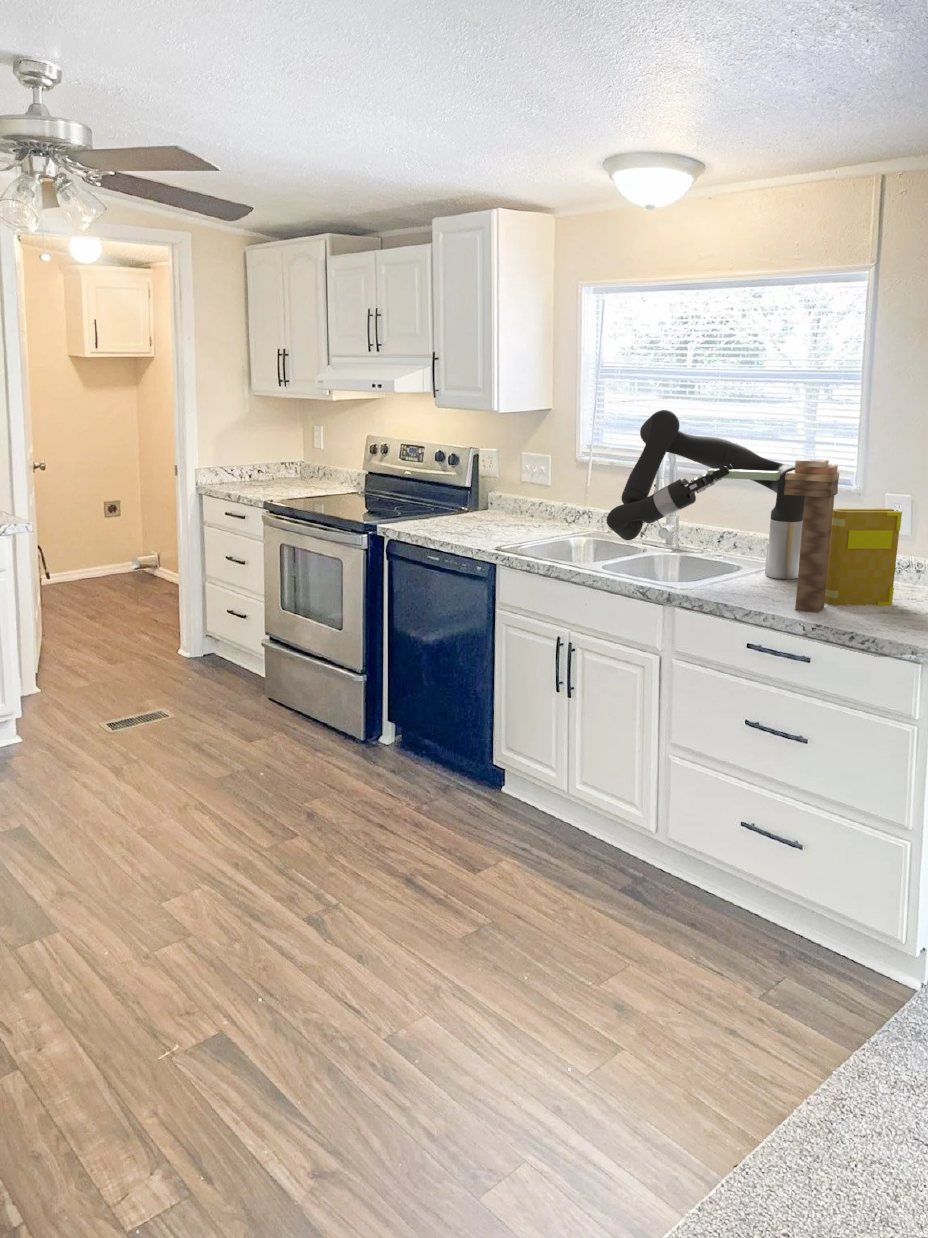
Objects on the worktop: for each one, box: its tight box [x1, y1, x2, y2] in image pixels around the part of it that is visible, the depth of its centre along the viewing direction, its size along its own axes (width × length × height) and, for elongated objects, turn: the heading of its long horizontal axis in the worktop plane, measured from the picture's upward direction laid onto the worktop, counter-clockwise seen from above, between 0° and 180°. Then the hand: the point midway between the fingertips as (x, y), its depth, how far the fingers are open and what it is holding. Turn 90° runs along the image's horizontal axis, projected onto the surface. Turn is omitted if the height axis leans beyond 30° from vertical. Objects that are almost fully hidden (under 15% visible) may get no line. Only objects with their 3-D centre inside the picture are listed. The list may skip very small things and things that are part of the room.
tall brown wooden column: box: [784, 458, 840, 614], centre depth 270 cm, size 12×9×39 cm
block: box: [706, 468, 780, 481], centre depth 274 cm, size 18×4×2 cm, turn 61°
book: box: [825, 508, 903, 607], centre depth 278 cm, size 17×7×25 cm, turn 92°
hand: (729, 468), depth 276 cm, fingers closed on block, 4 cm apart
